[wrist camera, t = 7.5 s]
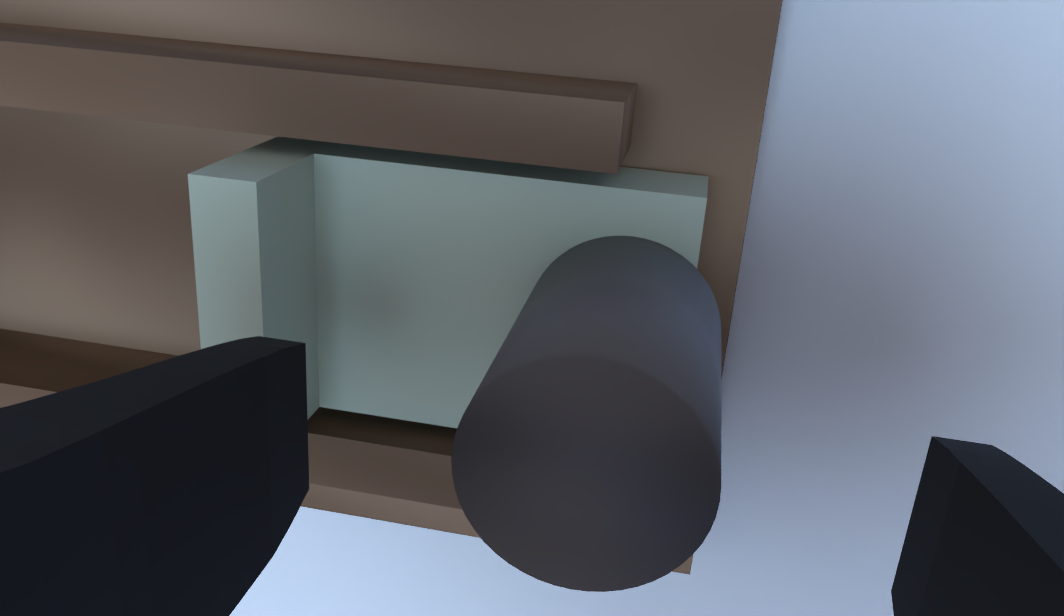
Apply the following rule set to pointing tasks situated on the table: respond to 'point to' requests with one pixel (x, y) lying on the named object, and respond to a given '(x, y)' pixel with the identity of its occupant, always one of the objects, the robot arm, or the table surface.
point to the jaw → (492, 332)
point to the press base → (339, 117)
